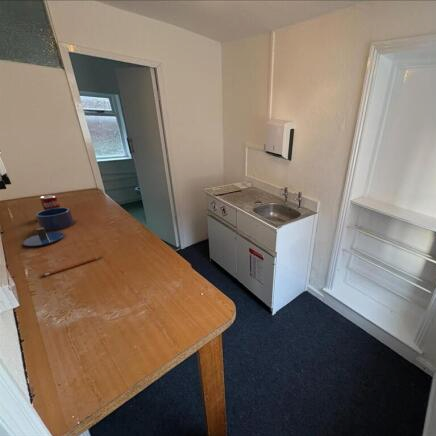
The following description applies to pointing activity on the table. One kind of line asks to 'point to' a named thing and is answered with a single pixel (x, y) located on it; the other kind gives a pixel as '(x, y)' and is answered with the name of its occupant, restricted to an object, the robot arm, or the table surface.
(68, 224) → the pot
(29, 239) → the lid
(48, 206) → the soda can
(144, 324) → the table surface
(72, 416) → the table surface
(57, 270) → the pencil
